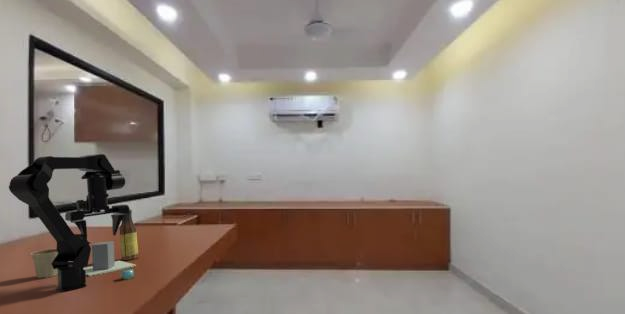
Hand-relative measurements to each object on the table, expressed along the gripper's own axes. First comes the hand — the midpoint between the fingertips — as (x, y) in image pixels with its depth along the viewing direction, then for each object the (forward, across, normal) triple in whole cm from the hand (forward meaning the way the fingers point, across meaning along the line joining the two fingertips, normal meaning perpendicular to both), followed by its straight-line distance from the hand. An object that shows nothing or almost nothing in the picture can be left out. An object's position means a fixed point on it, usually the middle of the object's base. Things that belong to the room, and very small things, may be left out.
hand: (100, 238), depth 138 cm
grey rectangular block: (+13, -5, -11) cm, 17 cm away
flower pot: (+13, +10, -21) cm, 27 cm away
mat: (+13, -6, -12) cm, 19 cm away
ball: (+13, -4, +10) cm, 17 cm away
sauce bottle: (+14, -19, -21) cm, 31 cm away
